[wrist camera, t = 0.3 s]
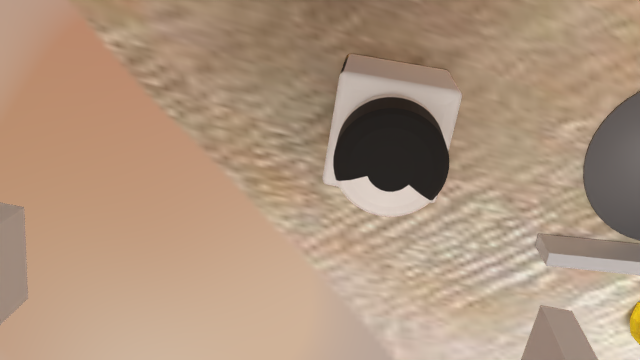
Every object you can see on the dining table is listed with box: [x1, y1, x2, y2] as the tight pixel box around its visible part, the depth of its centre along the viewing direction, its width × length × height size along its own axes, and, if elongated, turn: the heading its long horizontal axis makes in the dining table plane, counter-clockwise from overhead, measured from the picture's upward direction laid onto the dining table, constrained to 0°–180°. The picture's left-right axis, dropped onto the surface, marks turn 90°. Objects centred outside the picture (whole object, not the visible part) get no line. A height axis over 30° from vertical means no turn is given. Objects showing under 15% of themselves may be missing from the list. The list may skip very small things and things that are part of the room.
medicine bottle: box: [323, 54, 462, 217], centre depth 35 cm, size 7×7×12 cm
